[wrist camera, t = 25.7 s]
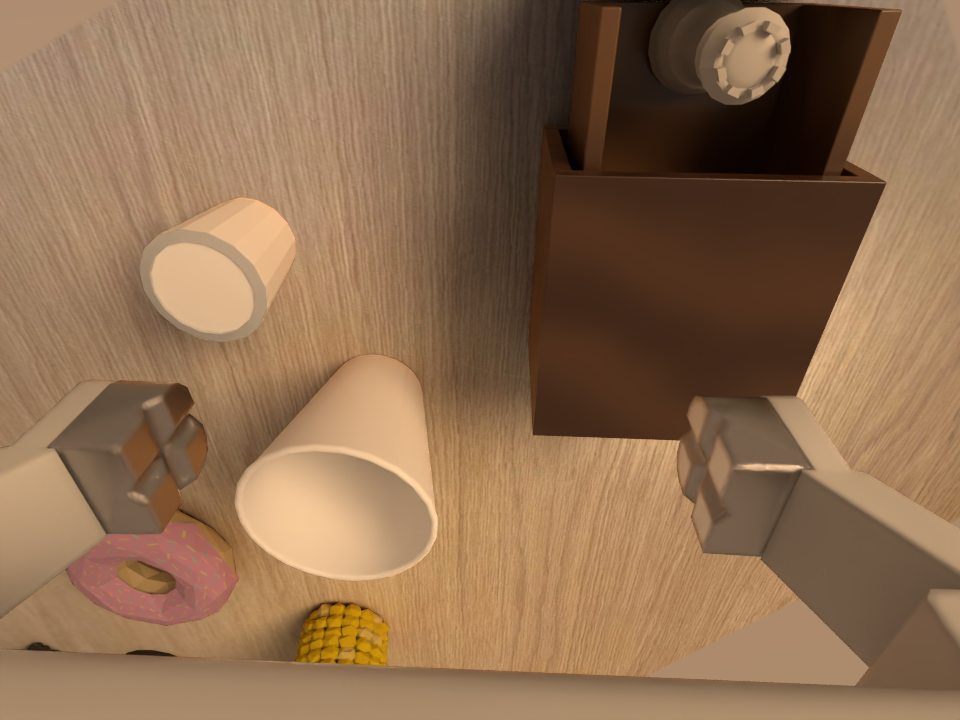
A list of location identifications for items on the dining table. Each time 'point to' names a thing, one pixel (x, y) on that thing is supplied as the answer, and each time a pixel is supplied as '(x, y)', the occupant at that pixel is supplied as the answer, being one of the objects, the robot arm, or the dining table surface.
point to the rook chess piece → (719, 49)
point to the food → (343, 636)
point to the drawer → (709, 123)
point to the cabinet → (680, 289)
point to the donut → (159, 573)
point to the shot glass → (219, 269)
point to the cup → (347, 478)
